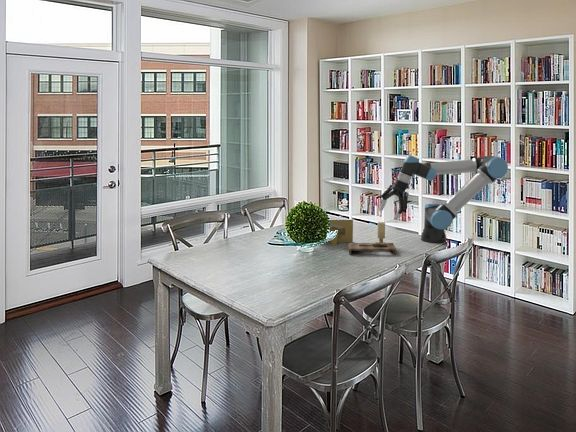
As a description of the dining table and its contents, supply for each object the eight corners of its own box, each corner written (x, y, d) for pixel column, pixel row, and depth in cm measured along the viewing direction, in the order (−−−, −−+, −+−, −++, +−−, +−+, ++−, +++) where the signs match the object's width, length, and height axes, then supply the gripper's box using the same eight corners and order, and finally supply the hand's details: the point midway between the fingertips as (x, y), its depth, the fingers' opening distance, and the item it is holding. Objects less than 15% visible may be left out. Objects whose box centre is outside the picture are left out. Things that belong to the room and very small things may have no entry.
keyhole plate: (392, 248, 294) (392, 242, 293) (395, 254, 281) (396, 248, 281) (348, 248, 296) (348, 243, 295) (349, 254, 283) (349, 248, 283)
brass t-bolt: (385, 244, 305) (385, 221, 302) (386, 246, 299) (387, 223, 296) (375, 244, 305) (375, 221, 302) (376, 246, 299) (376, 223, 297)
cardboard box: (352, 241, 313) (352, 218, 309) (353, 246, 304) (353, 223, 300) (315, 241, 315) (315, 218, 311) (314, 246, 307) (314, 223, 302)
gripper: (384, 173, 302) (370, 205, 306) (414, 186, 282) (398, 221, 287) (392, 175, 306) (378, 207, 310) (422, 189, 287) (407, 223, 291)
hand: (388, 214), depth 298 cm, fingers open, 13 cm apart
